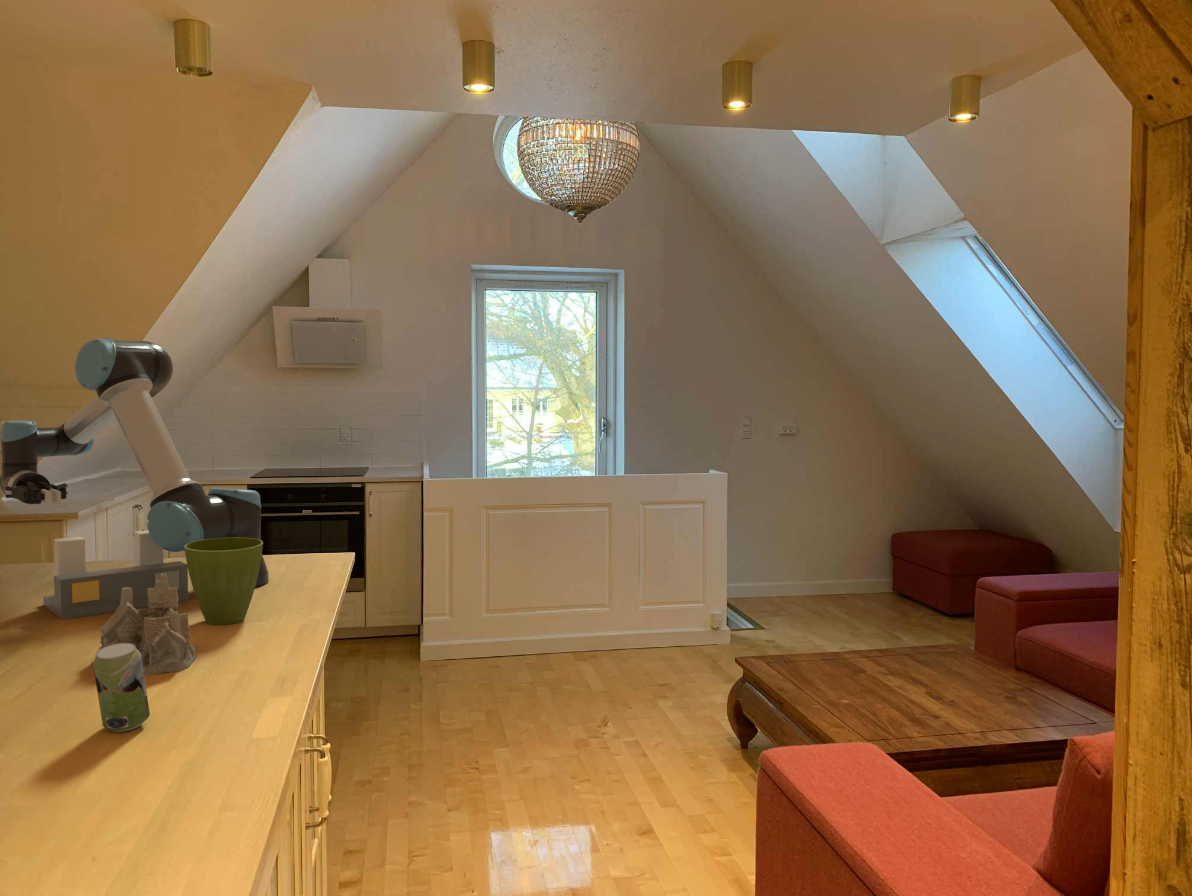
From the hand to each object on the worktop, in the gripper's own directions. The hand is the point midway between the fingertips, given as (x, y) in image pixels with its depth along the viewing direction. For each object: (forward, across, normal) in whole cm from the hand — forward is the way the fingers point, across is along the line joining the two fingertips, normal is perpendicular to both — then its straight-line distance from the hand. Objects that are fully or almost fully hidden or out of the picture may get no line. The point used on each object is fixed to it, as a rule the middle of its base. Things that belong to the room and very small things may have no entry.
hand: (54, 497), depth 201 cm
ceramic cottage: (+62, +1, -22) cm, 66 cm away
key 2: (+11, -16, -20) cm, 28 cm away
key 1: (+11, 0, -20) cm, 23 cm away
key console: (+15, -8, -22) cm, 28 cm away
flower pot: (+45, -20, -22) cm, 54 cm away
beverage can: (+92, +13, -22) cm, 95 cm away
